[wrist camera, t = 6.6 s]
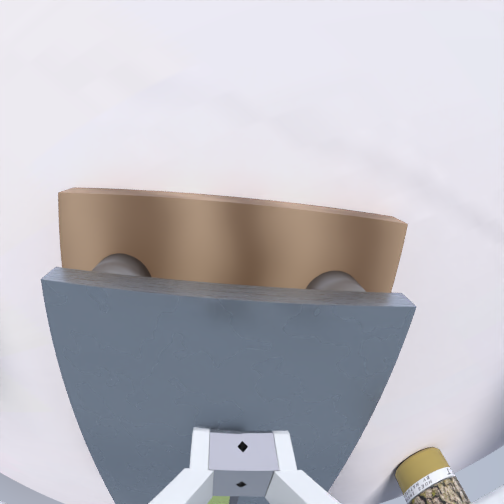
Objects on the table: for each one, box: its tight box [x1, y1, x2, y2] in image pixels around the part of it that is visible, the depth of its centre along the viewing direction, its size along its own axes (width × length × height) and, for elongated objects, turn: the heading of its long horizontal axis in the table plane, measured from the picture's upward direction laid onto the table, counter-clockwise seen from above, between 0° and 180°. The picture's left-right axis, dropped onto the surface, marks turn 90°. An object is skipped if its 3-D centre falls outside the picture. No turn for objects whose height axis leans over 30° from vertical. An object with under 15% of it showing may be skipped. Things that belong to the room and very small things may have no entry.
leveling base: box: [58, 188, 408, 293], centre depth 20 cm, size 20×32×5 cm, turn 174°
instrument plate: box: [41, 267, 416, 504], centre depth 17 cm, size 17×27×3 cm, turn 174°
